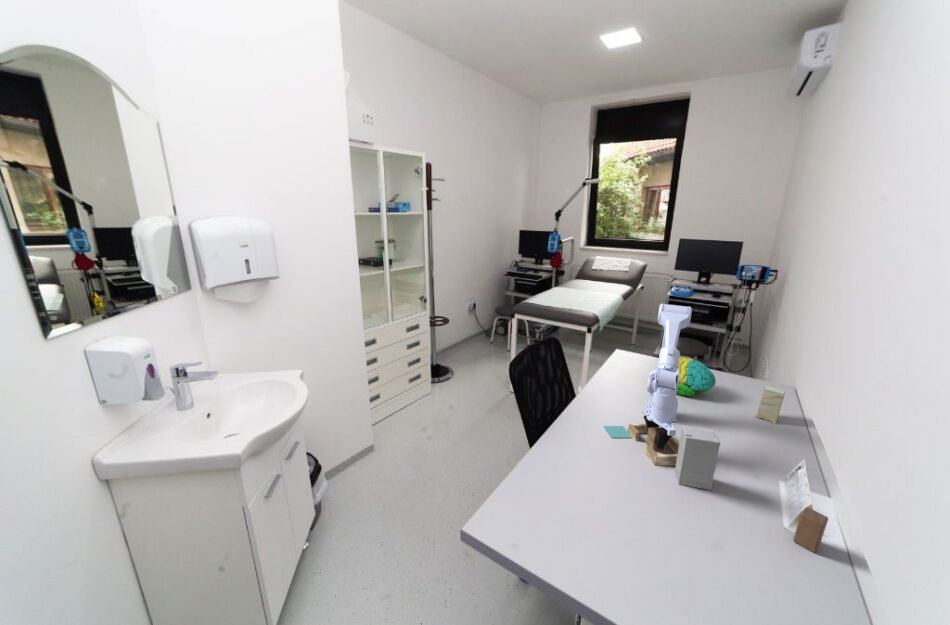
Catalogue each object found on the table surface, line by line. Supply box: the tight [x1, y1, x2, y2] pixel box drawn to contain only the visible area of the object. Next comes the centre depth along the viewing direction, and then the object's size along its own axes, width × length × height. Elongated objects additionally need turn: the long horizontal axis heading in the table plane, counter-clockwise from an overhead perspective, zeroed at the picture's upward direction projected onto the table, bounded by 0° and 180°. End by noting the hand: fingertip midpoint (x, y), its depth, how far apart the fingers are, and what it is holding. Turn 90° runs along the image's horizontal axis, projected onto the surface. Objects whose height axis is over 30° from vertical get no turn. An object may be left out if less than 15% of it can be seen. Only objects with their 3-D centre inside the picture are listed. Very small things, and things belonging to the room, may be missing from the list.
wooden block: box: [793, 506, 829, 554], centre depth 84 cm, size 4×4×8 cm
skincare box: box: [674, 424, 721, 491], centre depth 102 cm, size 8×7×16 cm
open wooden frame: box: [627, 423, 679, 466], centre depth 119 cm, size 11×18×3 cm, turn 3°
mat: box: [603, 425, 633, 439], centre depth 127 cm, size 7×7×1 cm
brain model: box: [655, 356, 717, 397], centre depth 159 cm, size 24×19×15 cm
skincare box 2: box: [756, 385, 786, 424], centre depth 137 cm, size 6×4×12 cm
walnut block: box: [645, 427, 666, 452], centre depth 119 cm, size 4×4×6 cm
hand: (655, 442), depth 119 cm, fingers open, 5 cm apart
